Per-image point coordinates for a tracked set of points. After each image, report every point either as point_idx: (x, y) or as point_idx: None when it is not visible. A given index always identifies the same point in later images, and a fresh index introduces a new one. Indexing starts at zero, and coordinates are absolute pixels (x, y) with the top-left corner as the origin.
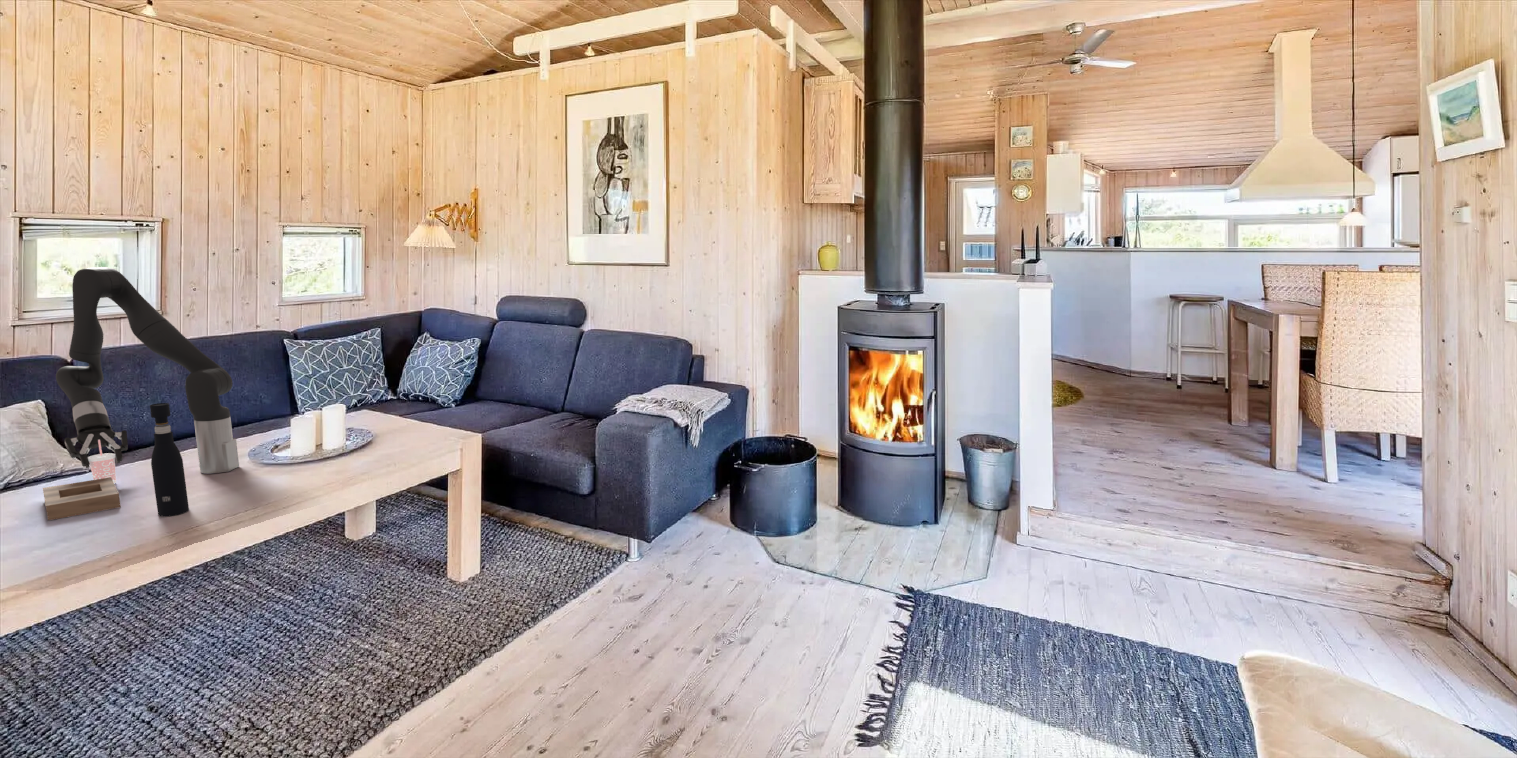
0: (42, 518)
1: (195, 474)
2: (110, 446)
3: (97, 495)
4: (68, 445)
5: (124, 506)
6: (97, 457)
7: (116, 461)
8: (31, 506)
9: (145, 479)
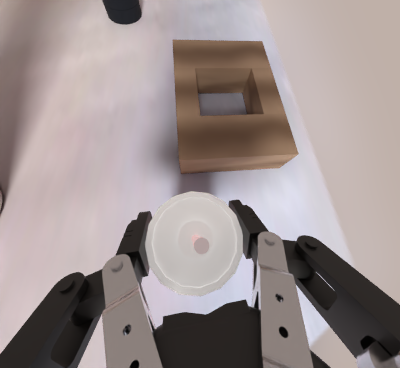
0: None
1: (18, 202)
2: (146, 305)
3: (201, 46)
4: (385, 297)
5: (170, 68)
6: (208, 226)
7: None
8: None
9: (116, 229)
